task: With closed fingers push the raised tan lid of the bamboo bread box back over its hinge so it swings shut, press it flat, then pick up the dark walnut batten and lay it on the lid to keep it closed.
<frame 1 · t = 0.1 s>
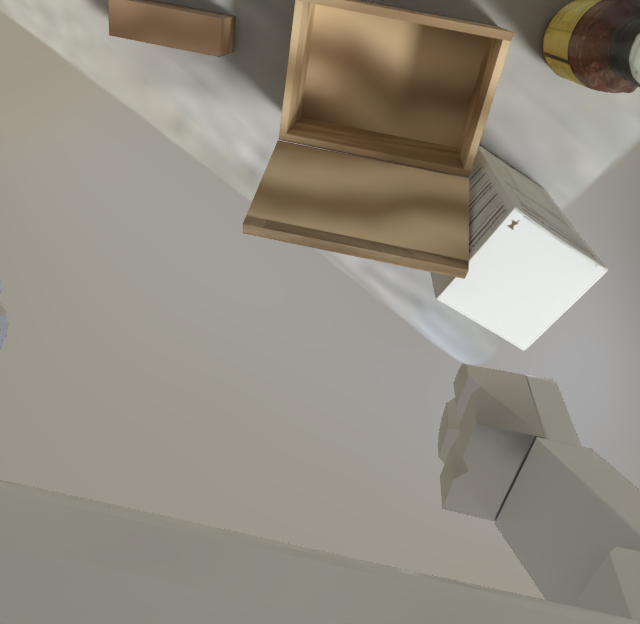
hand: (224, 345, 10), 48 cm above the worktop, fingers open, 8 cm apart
supplement box: (481, 204, 56), on the worktop, touching lid
walnut batten: (182, 24, 52), on the worktop
lid: (363, 204, 44), point 13 cm above the worktop, hinge at 108.7°, touching supplement box
sauce bottle: (575, 35, 48), on the worktop
bread box: (390, 76, 51), on the worktop
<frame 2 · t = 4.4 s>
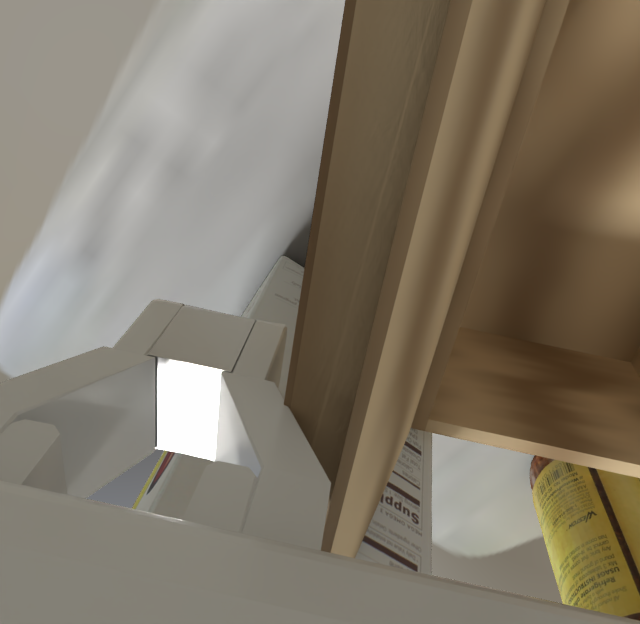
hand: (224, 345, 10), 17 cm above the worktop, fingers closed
supplement box: (314, 357, 30), on the worktop, touching lid
lid: (410, 302, 12), point 14 cm above the worktop, hinge at 104.7°, touching gripper, supplement box
sauce bottle: (586, 461, 31), on the worktop
bread box: (587, 184, 23), on the worktop
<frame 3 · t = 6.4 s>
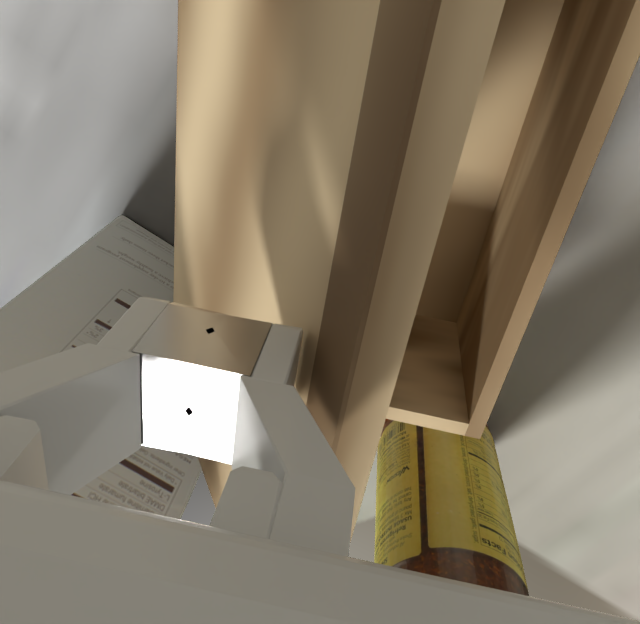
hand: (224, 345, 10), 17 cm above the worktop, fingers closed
supplement box: (166, 320, 31), on the worktop
lid: (246, 254, 13), point 13 cm above the worktop, hinge at 56.2°, touching gripper
sauce bottle: (437, 425, 31), on the worktop
bread box: (390, 143, 24), on the worktop
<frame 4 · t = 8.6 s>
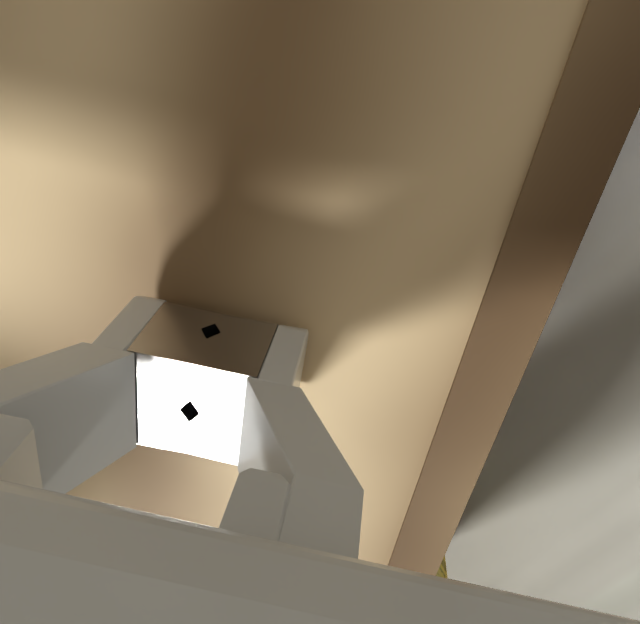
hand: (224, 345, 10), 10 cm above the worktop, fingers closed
lid: (201, 319, 10), point 9 cm above the worktop, hinge at 2.9°
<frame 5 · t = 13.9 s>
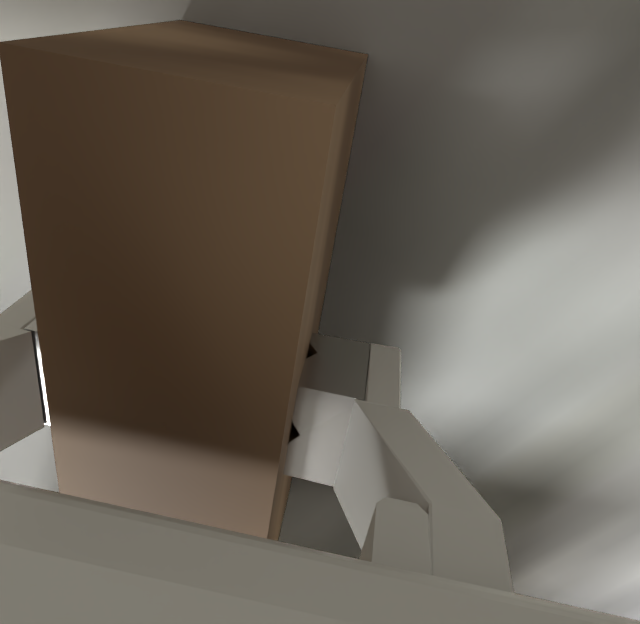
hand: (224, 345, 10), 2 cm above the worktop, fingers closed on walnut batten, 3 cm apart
walnut batten: (247, 308, 11), on the worktop, touching gripper
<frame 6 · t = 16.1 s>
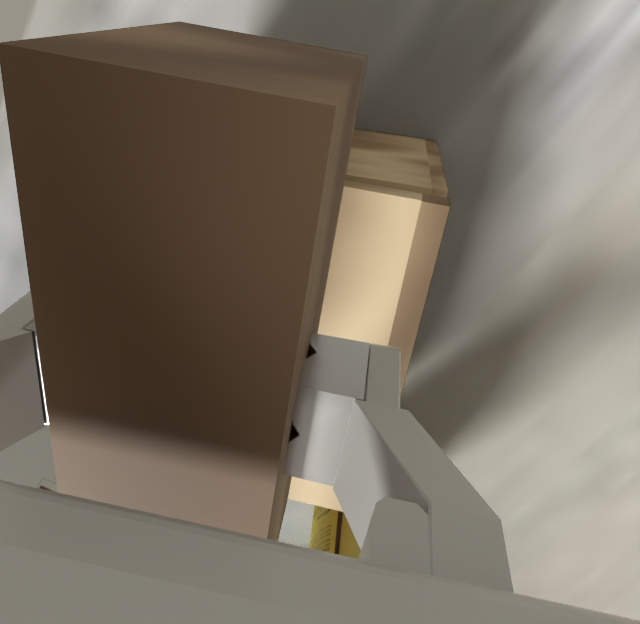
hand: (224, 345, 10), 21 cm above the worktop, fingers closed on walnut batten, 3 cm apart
supplement box: (148, 392, 39), on the worktop
walnut batten: (246, 310, 11), point 19 cm above the worktop, touching gripper
lid: (276, 358, 24), point 9 cm above the worktop, hinge at 2.9°
sauce bottle: (365, 467, 40), on the worktop
bread box: (307, 269, 32), on the worktop
when the fingers open (12 cm above the worktop, at t = 18.6 s): walnut batten stays where it is, resting on lid.
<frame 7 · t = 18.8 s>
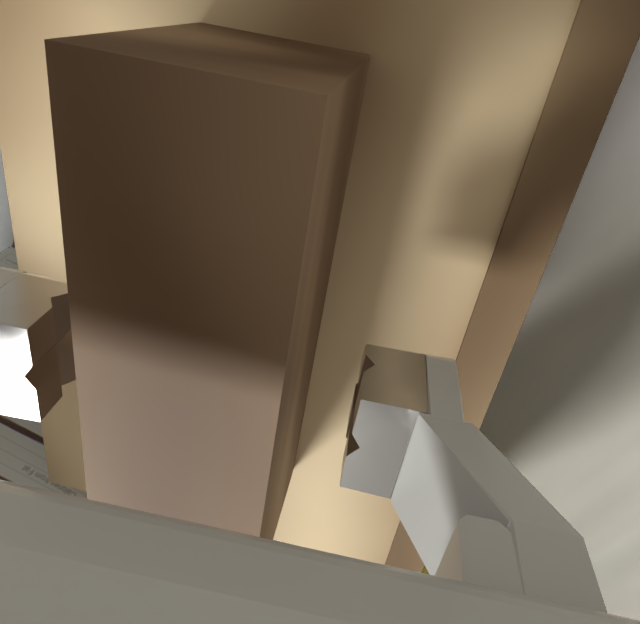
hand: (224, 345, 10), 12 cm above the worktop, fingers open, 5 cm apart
supplement box: (76, 364, 26), on the worktop
walnut batten: (256, 291, 12), point 9 cm above the worktop, touching lid
lid: (259, 272, 12), point 9 cm above the worktop, hinge at 2.3°, touching walnut batten
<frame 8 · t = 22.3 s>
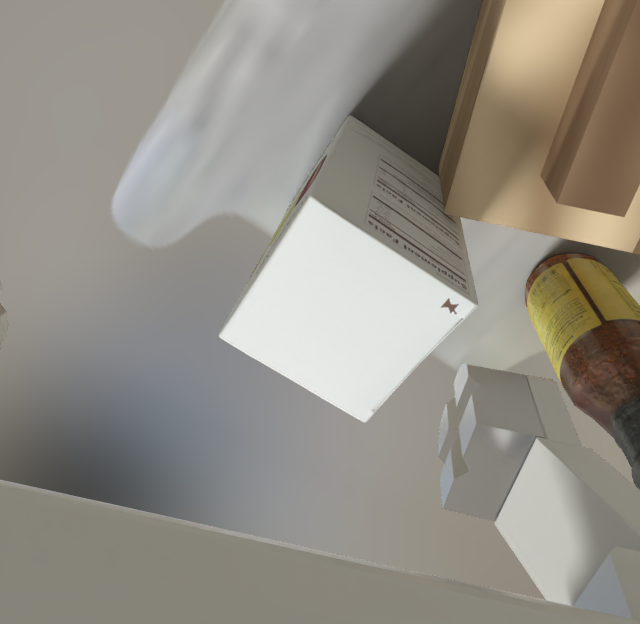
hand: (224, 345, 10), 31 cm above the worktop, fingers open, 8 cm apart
supplement box: (365, 203, 40), on the worktop
walnut batten: (610, 78, 26), point 9 cm above the worktop, touching lid
lid: (609, 71, 26), point 9 cm above the worktop, hinge at 2.3°, touching walnut batten
sauce bottle: (567, 284, 41), on the worktop
bread box: (563, 53, 34), on the worktop
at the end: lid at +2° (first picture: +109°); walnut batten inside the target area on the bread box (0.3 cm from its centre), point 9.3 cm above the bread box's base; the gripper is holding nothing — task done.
